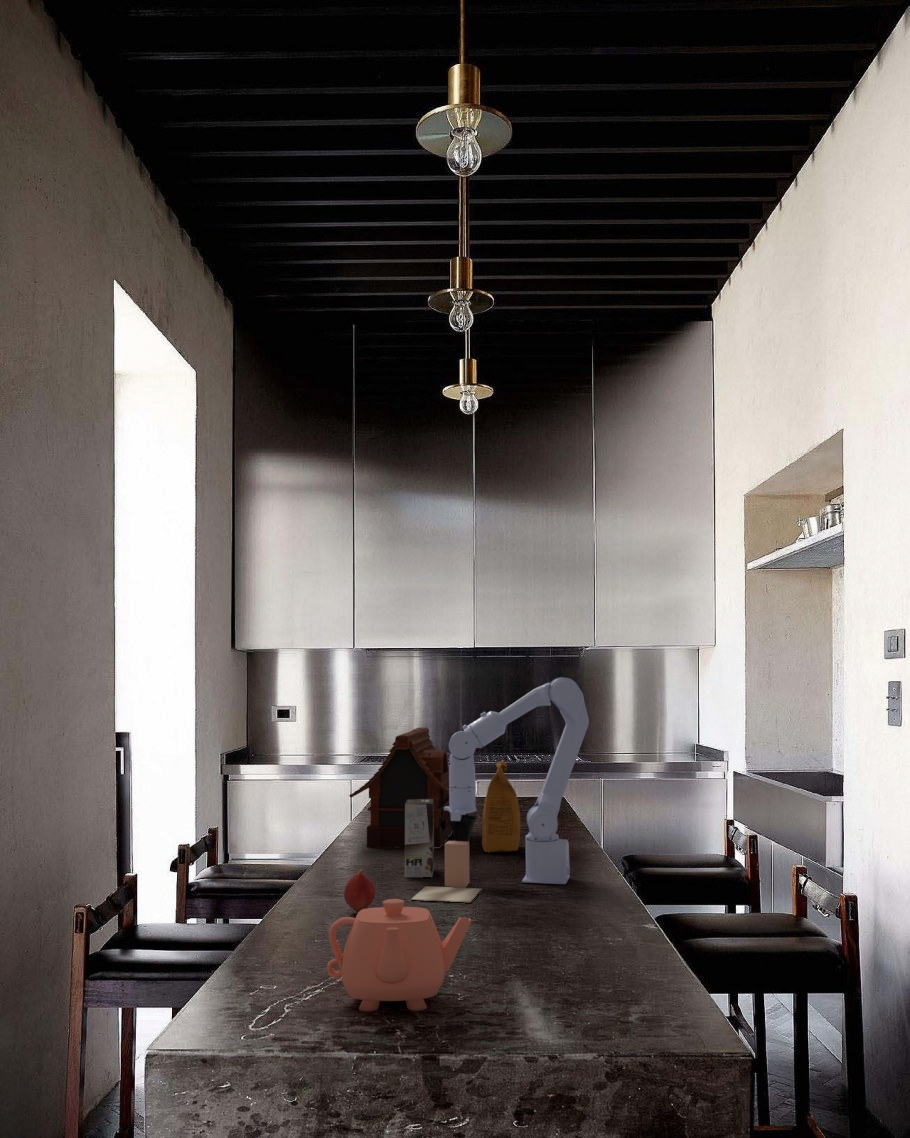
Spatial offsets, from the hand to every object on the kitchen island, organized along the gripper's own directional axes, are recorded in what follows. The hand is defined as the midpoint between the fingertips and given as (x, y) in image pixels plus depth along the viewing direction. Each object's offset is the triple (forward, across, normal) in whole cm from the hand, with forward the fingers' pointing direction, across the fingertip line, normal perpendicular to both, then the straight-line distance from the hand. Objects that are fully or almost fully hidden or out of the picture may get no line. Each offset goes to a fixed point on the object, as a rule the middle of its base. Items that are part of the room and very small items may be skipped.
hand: (462, 850), depth 221 cm
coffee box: (+7, -5, -11) cm, 14 cm away
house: (+7, -52, -25) cm, 58 cm away
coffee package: (+7, -38, +2) cm, 39 cm away
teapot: (+7, +81, +8) cm, 81 cm away
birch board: (+6, +15, 0) cm, 16 cm away
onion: (+7, +33, -13) cm, 36 cm away
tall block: (+6, +6, 0) cm, 9 cm away
